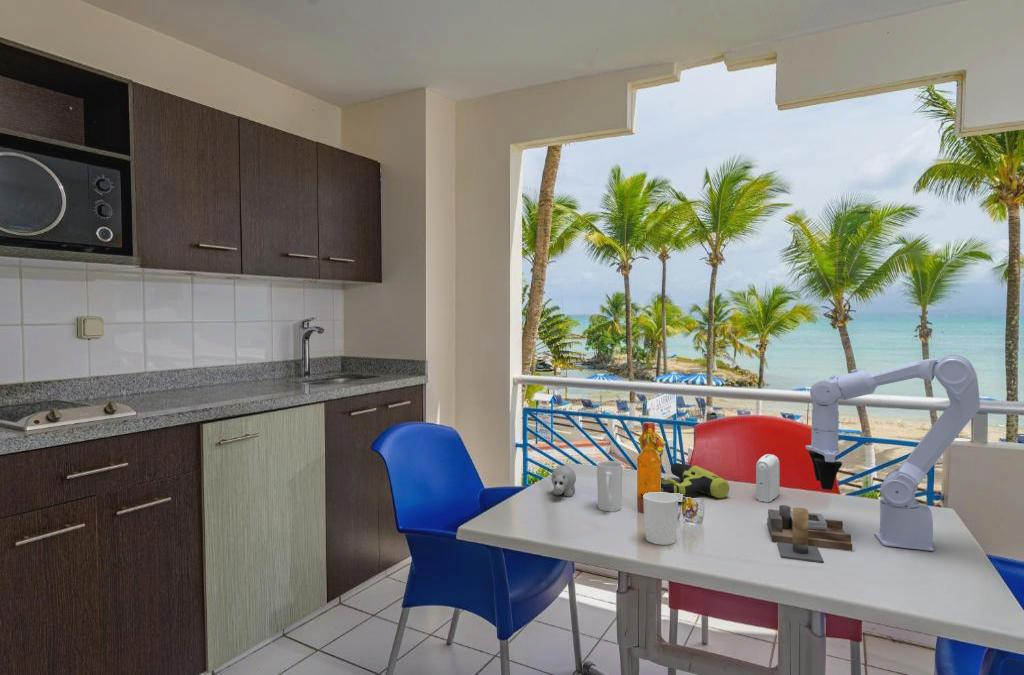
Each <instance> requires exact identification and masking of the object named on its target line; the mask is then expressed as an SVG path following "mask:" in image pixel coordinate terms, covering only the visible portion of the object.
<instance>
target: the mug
mask: <svg viewBox="0 0 1024 675" xmlns="http://www.w3.org/2000/svg"><path fill="white" fill-rule="evenodd" d="M596 480H597V481H596V482H597V485H596V486H597V508H598V510H601V511H604V512H618V511H620V510H621V509H622V500H623V499H622V497H623V496H622V494H623V463H621V462H619V461H614V460H603V461H598V462H597V463H596Z"/></svg>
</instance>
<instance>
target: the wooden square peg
mask: <svg viewBox="0 0 1024 675" xmlns="http://www.w3.org/2000/svg"><path fill="white" fill-rule="evenodd" d="M792 511H793V551H794V552H796V553H799V554H807V553H808V513H809V510H808V509H806V508H803V507H793V508H792Z"/></svg>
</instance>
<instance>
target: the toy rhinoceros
mask: <svg viewBox="0 0 1024 675" xmlns="http://www.w3.org/2000/svg"><path fill="white" fill-rule="evenodd" d="M550 479H551V480H550V481H551V483H552V486H553V490H552V493H553V495H554V496H562V494H564V497H566V496H567V498H569V497H572V496H573V495H574V493H575V492H576V487H575V485H576V481H577V476H576V473H575V471H574V469H572V467H570V466H567V465H559V466H557V467H556V468H554V469H553V471H552V472H551V478H550Z"/></svg>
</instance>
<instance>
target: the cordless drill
mask: <svg viewBox="0 0 1024 675" xmlns="http://www.w3.org/2000/svg"><path fill="white" fill-rule="evenodd" d="M670 472H671V474H672V475H673V476H675V477H677V478H679V482H680V483H679V482H677V481H676V480H674V479H672V478H670V477H669V478H665V477H660V478H661V492H666V493H680V494H685V495H687V494H690V493H693V492H696V491H698V492H700V491H702V492H701V493H703V492H704V493H703V494H705V493H706V495H708V494H709V496H712V497H714V498H717V499H724V498H725V497H726V496H728V494H729V492H730V484H729V482H728V481H727V480H726V479H724V478H722V477H721V476H718V475H717V474H715V473H714V472H712V471H709V470H707V469H704V468H702V467H700V466H699V465H691V464H683V463H680V462H675V463H673V464H672V465H671V466H670Z"/></svg>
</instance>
